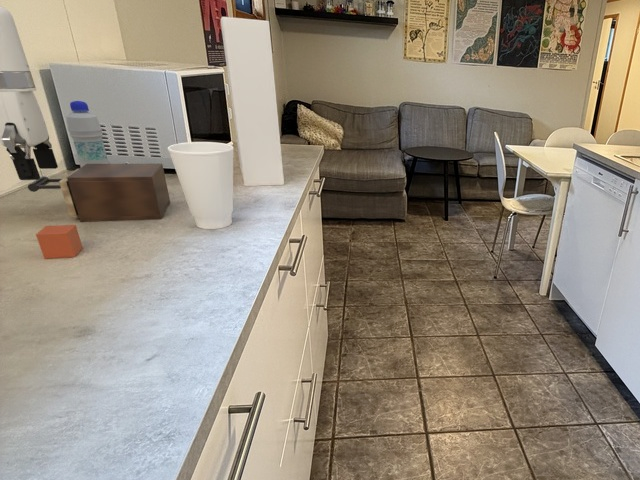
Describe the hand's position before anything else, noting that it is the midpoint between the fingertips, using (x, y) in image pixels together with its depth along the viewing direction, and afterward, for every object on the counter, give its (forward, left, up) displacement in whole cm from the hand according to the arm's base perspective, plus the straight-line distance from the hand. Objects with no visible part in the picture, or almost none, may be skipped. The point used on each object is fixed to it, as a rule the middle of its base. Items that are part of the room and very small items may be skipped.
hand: (40, 173), depth 96 cm
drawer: (+8, 0, -8) cm, 11 cm away
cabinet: (+14, 0, -8) cm, 16 cm away
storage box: (+41, +31, -9) cm, 53 cm away
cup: (+32, -11, -9) cm, 35 cm away
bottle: (+3, +24, -9) cm, 26 cm away
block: (+9, -24, -8) cm, 27 cm away
